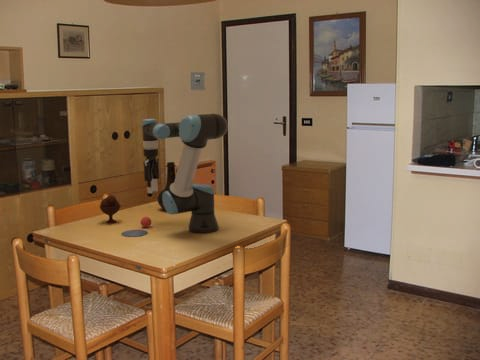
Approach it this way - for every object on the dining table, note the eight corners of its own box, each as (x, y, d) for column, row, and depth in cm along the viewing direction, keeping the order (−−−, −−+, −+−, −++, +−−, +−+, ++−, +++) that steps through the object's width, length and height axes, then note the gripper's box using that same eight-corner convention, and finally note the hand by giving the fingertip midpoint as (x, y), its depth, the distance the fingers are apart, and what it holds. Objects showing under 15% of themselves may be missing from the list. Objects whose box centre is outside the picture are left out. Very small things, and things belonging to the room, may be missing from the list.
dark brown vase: (183, 213, 325) (181, 164, 320) (153, 212, 328) (151, 164, 323) (192, 206, 342) (190, 160, 337) (163, 205, 346) (161, 160, 341)
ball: (153, 226, 296) (153, 216, 295) (146, 229, 291) (145, 218, 290) (146, 225, 299) (145, 215, 298) (138, 227, 295) (138, 217, 294)
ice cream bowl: (123, 219, 312) (122, 193, 309) (117, 224, 301) (115, 197, 299) (104, 219, 313) (103, 193, 311) (98, 224, 302) (96, 197, 300)
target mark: (153, 232, 285) (153, 232, 285) (133, 238, 275) (133, 238, 274) (135, 228, 292) (135, 228, 292) (115, 234, 282) (115, 234, 282)
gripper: (151, 146, 307) (153, 188, 311) (136, 150, 290) (138, 195, 294) (164, 146, 305) (166, 189, 309) (149, 150, 287) (151, 195, 291)
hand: (152, 192), depth 301 cm, fingers open, 5 cm apart
